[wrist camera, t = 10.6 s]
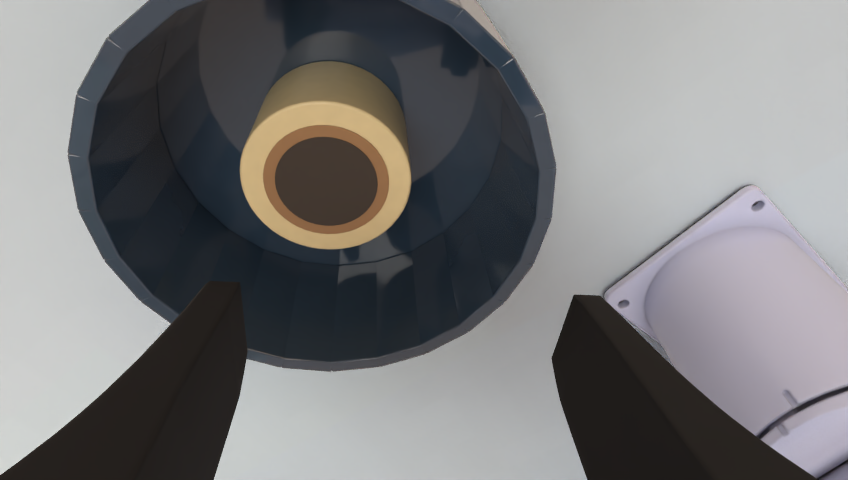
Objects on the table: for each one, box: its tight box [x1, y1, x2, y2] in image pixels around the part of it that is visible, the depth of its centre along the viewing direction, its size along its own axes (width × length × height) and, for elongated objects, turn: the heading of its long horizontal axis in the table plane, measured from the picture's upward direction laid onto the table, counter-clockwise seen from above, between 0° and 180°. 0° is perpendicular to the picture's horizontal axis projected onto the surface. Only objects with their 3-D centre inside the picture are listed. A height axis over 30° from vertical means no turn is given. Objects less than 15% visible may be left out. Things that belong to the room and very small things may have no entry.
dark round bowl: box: [68, 0, 556, 372], centre depth 18 cm, size 13×13×6 cm
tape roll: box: [240, 61, 411, 249], centre depth 18 cm, size 5×5×4 cm
